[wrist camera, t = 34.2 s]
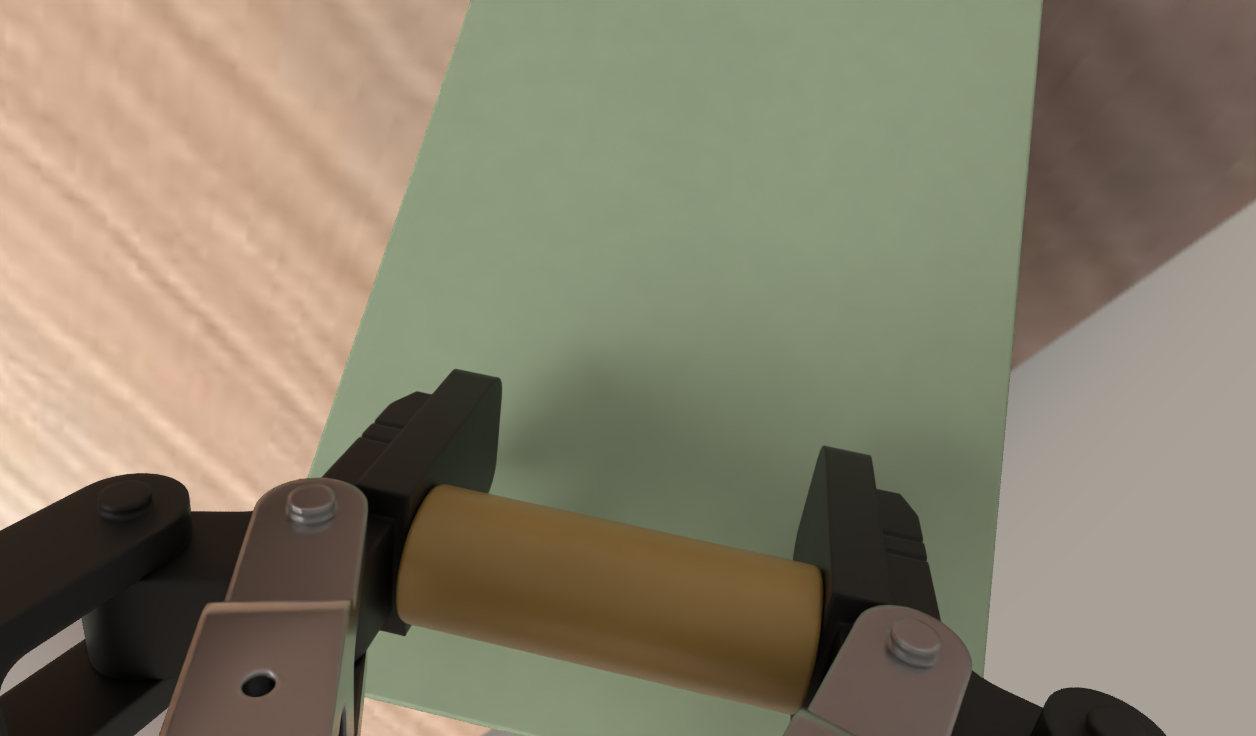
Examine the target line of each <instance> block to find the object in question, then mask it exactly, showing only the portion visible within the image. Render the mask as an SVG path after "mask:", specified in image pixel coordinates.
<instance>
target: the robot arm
mask: <svg viewBox="0 0 1256 736" xmlns="http://www.w3.org/2000/svg"><path fill="white" fill-rule="evenodd" d="M501 402H502V381H501V379H500V378H499V377H494V376H489V375H484V374H480V373H475V372H470V371H465V370H460V369H454V370H453V371H452V372H451V373H450V374H449V375H448V376H447V377H446V378H445V380H444V381H443V382H442V383H441V384H440V385H439V387H438V388H437V389H436V390H435V391H434V392H433V394H428V393H423V392H419V391H416V392H414V393H411V394H409V395H407V396H405V397H403V398H401V399H399V400H396V401H394V402H392V403H390V404H389V405H388V406H387V408H386V409H385V410H384V411H383V412H382V413H381V414H380V415H379V416H378V417H377V418H376V419H375V422H374V424H373V423H372V424H371V425H370V426H369V427H368V428H367V429H366V430H365V431H364V432H363V433H362V437H358V439H357V440H356V441H355V442H354V443H353V444H352V445H351V446H350V447H349V448H348V449H347V450H346V451H345V452H344V454H343V455H342V456H341V457H340V458H339V459H338V460H337V461H336V462H335V463H334V464H333V465H332V466H331V467H330V468H329V470H328V471H327V472H326V473H325V474H324V475H323V476H322V477H321V478H306V479H299V480H294V481H290V482H287V483H284V484H281V485H279V486H277V487H275V488H273V489H271V490H270V491H268V492H267V493H265V494H264V495H263V496H262V497H261V498H260V499H259V500H258V502H257V503H256V505H255V507H254V510H253V511H246V512H206V511H191V508H190V498H189V493H188V490H187V489H186V487H185V486H184V485H183V484H182V483H180V482H179V481H177V480H175V479H173V478H170V477H167V476H163V475H158V474H148V473H136V474H126V475H120V476H115V477H111V478H107V479H103V480H101V481H98V482H95V483H93V484H90V485H88V486H86V487H84V488H82V489H80V490H78V491H76V492H74V493H72V494H71V495H69V496H67V497H65V498H63V499H61V500H59V501H57V502H55V503H53V504H51V505H49V506H47V507H45V508H43V509H41V510H40V511H38V512H36V513H34V514H32V515H30V516H28V517H26V518H24V519H22V520H20V521H18V522H16V523H14V524H12V525H11V526H9V527H7V528H5V529H3V530H1V531H0V689H1V685H2V683H3V681H4V678H5V677H6V675H7V673H8V672H9V670H10V669H11V668H12V667H13V665H14V664H15V663H16V662H17V661H18V660H19V659H20V658H22V657H23V656H24V655H25V654H27V653H28V652H30V651H31V650H33V649H34V648H36V647H37V646H39V645H40V644H42V643H43V642H45V641H47V640H48V639H50V638H51V637H53V636H54V635H56V634H57V633H59V632H60V631H62V630H63V629H65V628H66V627H68V626H69V625H71V624H73V623H74V622H76V621H77V620H79V619H80V618H82V623H83V629H84V634H85V639H84V640H83V641H81V642H80V643H78V644H77V645H75V646H74V647H73V648H71V649H69V650H68V651H66V652H65V653H64V654H62V655H61V656H59V657H58V658H56V659H55V660H53V661H52V662H50V663H49V664H47V665H46V666H44V667H43V668H41V669H40V670H38V671H37V672H35V673H34V674H32V675H31V676H29V677H28V678H27V679H25V680H24V681H22V682H21V683H19V684H18V685H16V686H15V687H13V688H12V689H10V690H9V691H7V692H6V693H4V694H3V695H1V696H0V736H134V735H135V734H136V733H137V732H139V731H140V730H141V729H142V728H144V727H145V726H146V725H147V724H149V723H150V722H151V721H152V720H153V719H155V718H156V717H157V716H158V715H159V714H161V713H162V712H163V711H164V710H166V709H167V708H168V707H169V708H168V711H167V714H166V716H165V719H164V722H163V725H162V728H161V731H160V733H159V736H360V733H361V724H362V714H363V704H364V695H365V685H366V676H367V666H368V648H369V646H370V644H371V643H372V641H373V640H374V638H375V636H376V635H377V633H378V632H379V630H380V631H384V632H388V633H393V634H397V635H401V636H406V634H407V633H408V631H409V629H410V627H411V626H412V625H410V624H407V623H405V622H403V621H402V620H401V619H400V618H399V616H398V613H397V607H396V585H397V576H398V570H399V565H400V560H401V556H402V552H403V548H404V544H405V541H406V538H407V535H408V532H409V529H410V527H411V524H412V522H413V519H414V517H415V515H416V513H417V511H418V509H419V507H420V505H421V504H422V502H423V500H424V499H425V497H426V496H427V494H428V493H429V492H430V491H431V490H432V489H433V488H434V487H435V486H437V485H441V484H447V485H452V486H456V487H461V488H465V489H470V490H475V491H479V492H484V493H489V491H490V488H491V485H492V482H493V478H494V474H495V469H496V462H497V451H498V439H499V426H500V414H501ZM793 560H794V561H798V562H803V563H807V564H812V565H815V566H816V567H818V568H819V569H820V570H821V573H822V578H823V585H824V604H823V618H822V627H821V635H820V641H819V648H818V653H817V659H816V664H815V668H814V673H813V677H812V681H811V684H810V688H809V691H808V694H807V697H806V699H805V701H804V703H803V705H802V706H801V707H800V708H799V709H798V710H797V712H796V713H795V714H791V715H790V723H789V725H788V727H787V728H786V730H785V732H784V734H783V735H782V736H1166V735H1165V734H1164V732H1163V731H1162V730H1161V729H1160V728H1159V727H1158V726H1157V725H1156V724H1155V723H1154V722H1153V721H1151V720H1150V719H1149V718H1148V717H1146V716H1145V715H1144V714H1143V713H1141V712H1140V711H1138V710H1137V709H1135V708H1134V707H1132V706H1130V705H1129V704H1127V703H1125V702H1123V701H1122V700H1119V699H1117V698H1115V697H1113V696H1111V695H1108V694H1105V693H1102V692H1099V691H1096V690H1092V689H1086V688H1064V689H1061V690H1058V691H1056V692H1054V693H1053V694H1052V695H1050V696H1049V698H1048V700H1047V701H1046V703H1045V705H1044V707H1043V708H1042V707H1040V706H1038V705H1036V704H1034V703H1031V702H1029V701H1027V700H1025V699H1023V698H1021V697H1018V696H1016V695H1014V694H1012V693H1010V692H1008V691H1005V690H1003V689H1001V688H999V687H997V686H996V685H994V684H992V683H990V682H988V681H987V680H985V679H984V678H982V677H981V676H979V675H978V674H977V673H975V672H974V671H973V670H972V667H973V666H972V659H971V656H970V653H969V651H968V649H967V647H966V645H965V644H964V643H963V641H962V640H961V639H960V637H959V636H958V635H957V634H956V633H955V632H954V631H953V630H951V629H950V628H949V627H948V626H946V625H945V624H944V623H942V622H941V618H940V613H939V609H938V604H937V599H936V595H935V590H934V586H933V581H932V576H931V572H930V567H929V563H928V562H927V553H926V549H925V544H924V543H923V535H922V530H921V526H920V521H919V516H918V515H917V514H916V513H915V511H914V510H913V509H912V508H911V506H910V505H909V504H908V503H907V501H906V500H905V499H904V498H903V496H902V495H901V494H899V493H894V492H890V491H885V490H880V489H876V482H875V475H874V469H873V462H872V457H871V455H868V454H863V453H858V452H853V451H848V450H844V449H839V448H834V447H829V446H824V445H823V446H822V448H821V450H820V452H819V455H818V458H817V462H816V465H815V469H814V473H813V476H812V480H811V484H810V487H809V491H808V495H807V498H806V502H805V506H804V509H803V513H802V517H801V520H800V524H799V528H798V532H797V536H796V541H795V547H794V554H793Z"/></svg>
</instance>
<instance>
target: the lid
mask: <svg viewBox="0 0 1256 736" xmlns="http://www.w3.org/2000/svg"><path fill="white" fill-rule="evenodd" d="M1042 9H1043V0H471V1H470V4H469V7H468V10H467V13H466V16H465V19H464V22H463V25H462V28H461V31H460V34H459V37H458V39H457V42H456V45H455V48H454V51H453V54H452V57H451V60H450V63H449V66H448V69H447V72H446V74H445V77H444V80H443V83H442V86H441V89H440V92H439V95H438V98H437V101H436V104H435V107H434V109H433V112H432V115H431V118H430V121H429V124H428V127H427V130H426V133H425V136H424V139H423V142H422V145H421V147H420V150H419V153H418V156H417V159H416V162H415V165H414V168H413V171H412V174H411V177H410V180H409V182H408V185H407V188H406V191H405V194H404V197H403V200H402V203H401V206H400V209H399V212H398V215H397V217H396V220H395V223H394V226H393V229H392V232H391V235H390V238H389V241H388V244H387V247H386V250H385V253H384V255H383V258H382V261H381V264H380V267H379V270H378V273H377V276H376V279H375V282H374V285H373V288H372V290H371V293H370V296H369V299H368V302H367V305H366V308H365V311H364V314H363V317H362V320H361V323H360V325H359V328H358V331H357V334H356V337H355V340H354V343H353V346H352V349H351V352H350V355H349V358H348V360H347V363H346V366H345V369H344V372H343V375H342V378H341V381H340V384H339V387H338V390H337V393H336V396H335V398H334V401H333V404H332V407H331V410H330V413H329V416H328V419H327V422H326V425H325V428H324V431H323V433H322V436H321V439H320V442H319V445H318V448H317V451H316V454H315V457H314V460H313V463H312V466H311V468H310V471H309V474H308V477H307V478H321V477H322V476H323V475H324V474H325V473H326V472H327V471H328V470H329V468H330V467H331V466H332V465H333V464H334V463H335V462H336V461H337V460H338V459H339V458H340V457H341V456H342V455H343V454H344V452H345V451H346V450H347V449H348V448H349V447H350V446H351V445H352V444H353V443H354V442H355V441H356V440H357V439H358V437H362V433H363V432H364V431H365V430H366V429H367V428H368V427H369V426H370V425H371V424H372V423H373V424H374V422H375V419H376V418H377V417H378V416H379V415H380V414H381V413H382V412H383V411H384V410H385V409H386V408H387V406H388V405H389V404H390V403H392V402H394V401H396V400H399V399H401V398H403V397H405V396H407V395H409V394H411V393H414V392H416V391H419V392H423V393H428V394H433V392H434V391H435V390H436V389H437V388H438V387H439V385H440V384H441V383H442V382H443V381H444V380H445V378H446V377H447V376H448V375H449V374H450V373H451V372H452V371H453V370H454V369H460V370H465V371H470V372H475V373H480V374H484V375H489V376H494V377H499V378H500V379H501V381H502V402H501V414H500V426H499V439H498V451H497V462H496V469H495V474H494V478H493V482H492V485H491V488H490V491H489V493H484V492H479V491H475V490H470V489H465V488H461V487H456V486H452V485H447V484H441V485H437V486H435V487H434V488H433V489H432V490H431V491H430V492H429V493H428V494H427V496H426V497H425V499H424V500H423V502H422V504H421V505H420V507H419V509H418V511H417V513H416V515H415V517H414V519H413V522H412V524H411V527H410V529H409V532H408V535H407V538H406V541H405V544H404V548H403V552H402V556H401V560H400V565H399V570H398V576H397V585H396V607H397V613H398V616H399V618H400V619H401V620H402V621H403V622H405V623H407V624H410V625H412V626H411V627H410V629H409V631H408V633H407V634H406V636H401V635H397V634H393V633H388V632H384V631H380V630H379V632H378V633H377V635H376V636H375V638H374V640H373V641H372V643H371V644H370V646H369V648H368V666H367V676H366V685H365V695H364V697H366V698H370V699H374V700H378V701H382V702H387V703H391V704H395V705H399V706H403V707H407V708H411V709H415V710H419V711H423V712H427V713H431V714H435V715H439V716H443V717H447V718H451V719H455V720H459V721H463V722H467V723H471V724H476V725H480V726H484V727H488V728H492V729H496V730H500V731H504V732H508V733H512V734H516V735H520V736H782V735H783V734H784V732H785V730H786V728H787V727H788V725H789V723H790V715H791V714H795V713H796V712H797V710H798V709H799V708H800V707H801V706H802V705H803V703H804V701H805V699H806V697H807V694H808V691H809V688H810V684H811V681H812V677H813V673H814V668H815V664H816V659H817V653H818V648H819V641H820V635H821V627H822V618H823V604H824V585H823V578H822V573H821V570H820V569H819V568H818V567H816V566H815V565H812V564H807V563H803V562H798V561H794V560H793V554H794V547H795V541H796V536H797V532H798V528H799V524H800V520H801V517H802V513H803V509H804V506H805V502H806V498H807V495H808V491H809V487H810V484H811V480H812V476H813V473H814V469H815V465H816V462H817V458H818V455H819V452H820V450H821V448H822V446H823V445H824V446H829V447H834V448H839V449H844V450H848V451H853V452H858V453H863V454H868V455H871V457H872V462H873V469H874V475H875V482H876V489H880V490H885V491H890V492H894V493H899V494H901V495H902V496H903V498H904V499H905V500H906V501H907V503H908V504H909V505H910V506H911V508H912V509H913V510H914V511H915V513H916V514H917V515H918V516H919V521H920V526H921V530H922V535H923V543H924V544H925V549H926V553H927V562H928V563H929V567H930V572H931V576H932V581H933V586H934V590H935V595H936V599H937V604H938V609H939V613H940V618H941V622H942V623H944V624H945V625H946V626H948V627H949V628H950V629H951V630H953V631H954V632H955V633H956V634H957V635H958V636H959V637H960V639H961V640H962V641H963V643H964V644H965V645H966V647H967V649H968V651H969V653H970V656H971V659H972V666H973V667H972V670H973V671H974V672H975V673H977V674H978V675H979V676H981V677H982V678H983V675H984V664H985V653H986V642H987V630H988V618H989V608H990V596H991V584H992V573H993V563H994V562H993V561H994V551H995V540H996V539H995V538H996V529H997V517H998V506H999V495H1000V484H1001V472H1002V461H1003V450H1004V438H1005V427H1006V416H1007V404H1008V392H1009V382H1010V370H1011V359H1012V348H1013V337H1014V325H1015V314H1016V303H1017V291H1018V280H1019V269H1020V257H1021V246H1022V235H1023V223H1024V212H1025V201H1026V190H1027V178H1028V167H1029V156H1030V144H1031V133H1032V122H1033V110H1034V99H1035V88H1036V76H1037V65H1038V54H1039V43H1040V31H1041V20H1042Z"/></svg>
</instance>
